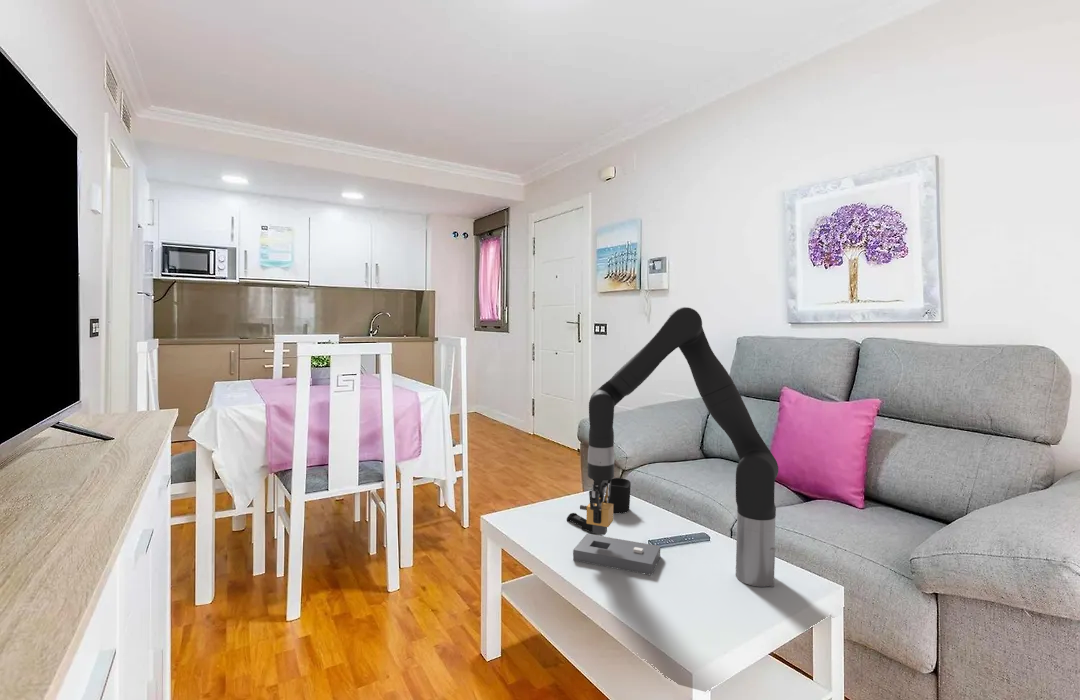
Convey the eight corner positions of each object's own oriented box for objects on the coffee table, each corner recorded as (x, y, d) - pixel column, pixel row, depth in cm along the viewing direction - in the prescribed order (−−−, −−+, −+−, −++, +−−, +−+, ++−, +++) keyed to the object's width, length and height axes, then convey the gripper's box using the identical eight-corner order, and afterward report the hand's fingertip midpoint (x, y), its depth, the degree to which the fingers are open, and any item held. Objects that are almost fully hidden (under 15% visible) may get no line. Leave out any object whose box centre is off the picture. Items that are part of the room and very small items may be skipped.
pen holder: (632, 514, 182) (632, 486, 181) (605, 514, 181) (605, 486, 181) (627, 504, 191) (628, 477, 190) (601, 504, 191) (602, 477, 190)
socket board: (660, 556, 150) (660, 543, 149) (651, 575, 138) (651, 561, 138) (586, 543, 158) (586, 530, 158) (573, 560, 147) (573, 546, 147)
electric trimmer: (594, 538, 163) (594, 528, 163) (565, 521, 176) (565, 512, 176) (603, 535, 165) (604, 525, 165) (574, 519, 178) (574, 510, 178)
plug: (613, 531, 151) (613, 503, 151) (608, 537, 147) (608, 509, 146) (583, 525, 155) (583, 499, 154) (577, 532, 150) (577, 504, 150)
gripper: (606, 469, 141) (605, 531, 142) (620, 456, 154) (619, 512, 155) (580, 465, 144) (579, 526, 145) (595, 453, 157) (595, 509, 158)
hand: (600, 519), depth 150 cm, fingers closed on plug, 5 cm apart
